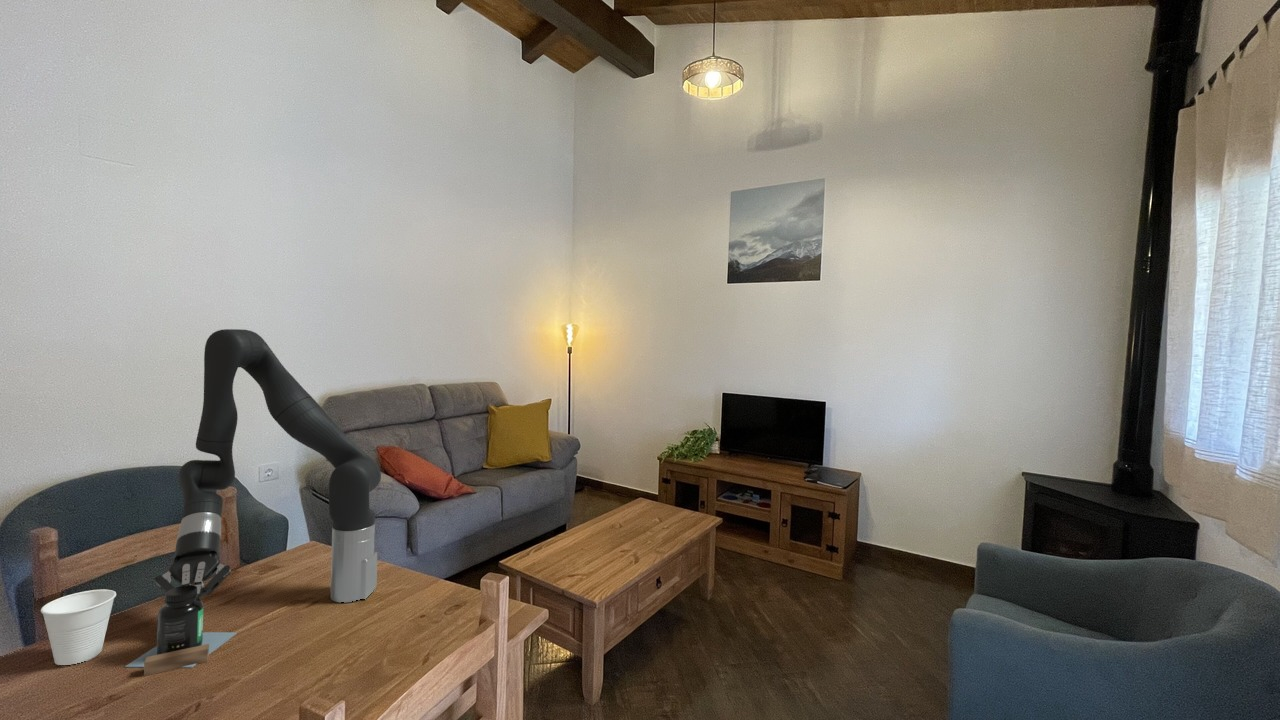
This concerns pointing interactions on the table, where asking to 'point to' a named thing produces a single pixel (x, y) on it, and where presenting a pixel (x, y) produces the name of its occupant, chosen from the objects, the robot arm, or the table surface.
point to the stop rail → (176, 659)
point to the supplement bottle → (180, 620)
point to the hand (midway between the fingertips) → (188, 616)
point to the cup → (78, 625)
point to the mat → (208, 638)
